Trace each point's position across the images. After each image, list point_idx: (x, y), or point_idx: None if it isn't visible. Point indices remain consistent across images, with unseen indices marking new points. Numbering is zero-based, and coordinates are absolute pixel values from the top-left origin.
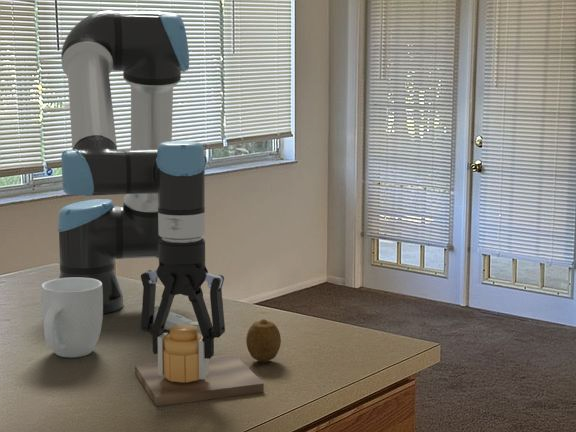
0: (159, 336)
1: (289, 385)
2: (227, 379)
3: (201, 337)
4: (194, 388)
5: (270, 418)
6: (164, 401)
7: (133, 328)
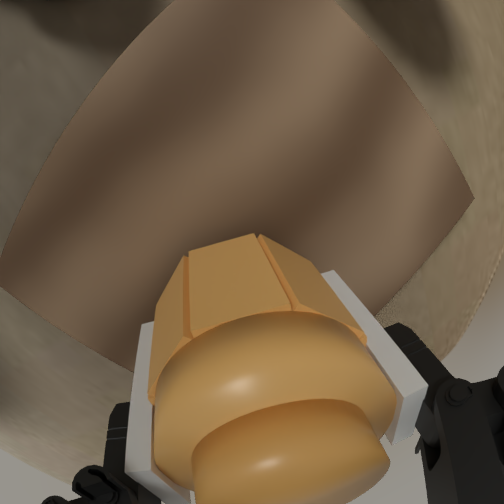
0: (166, 500)
1: (487, 116)
2: (383, 223)
3: (385, 400)
4: None
5: (476, 308)
6: None
7: None
